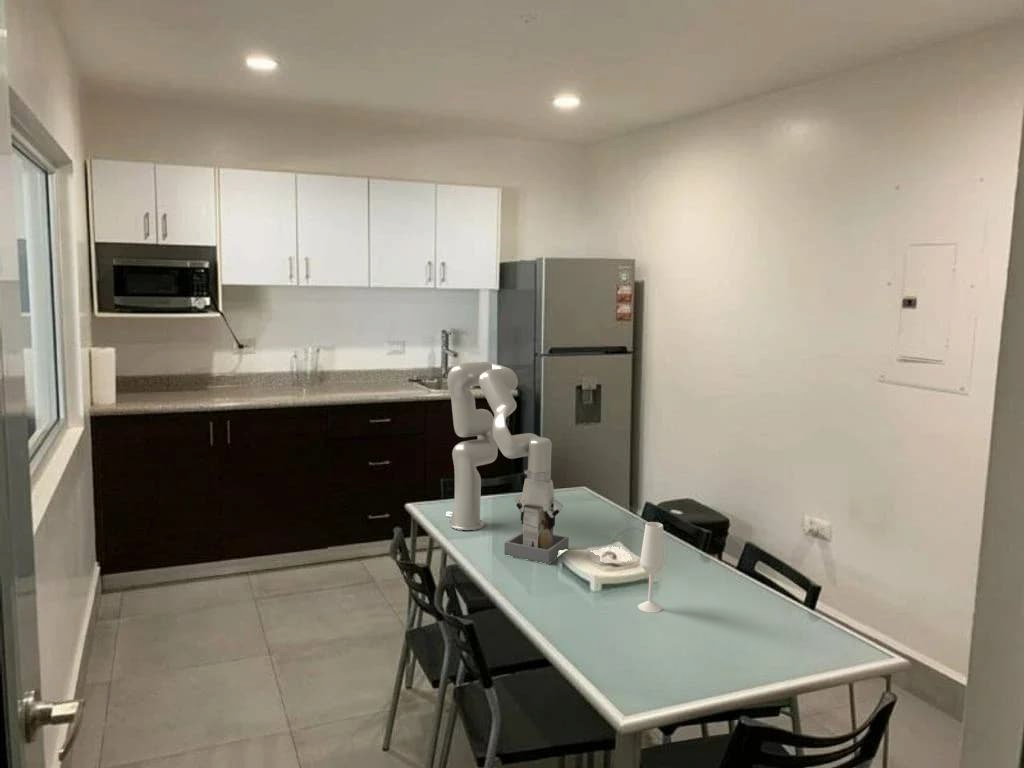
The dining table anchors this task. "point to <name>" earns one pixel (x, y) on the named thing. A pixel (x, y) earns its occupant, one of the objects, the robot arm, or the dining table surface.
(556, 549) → the box
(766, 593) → the dining table surface
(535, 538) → the coffee box
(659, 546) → the champagne flute
